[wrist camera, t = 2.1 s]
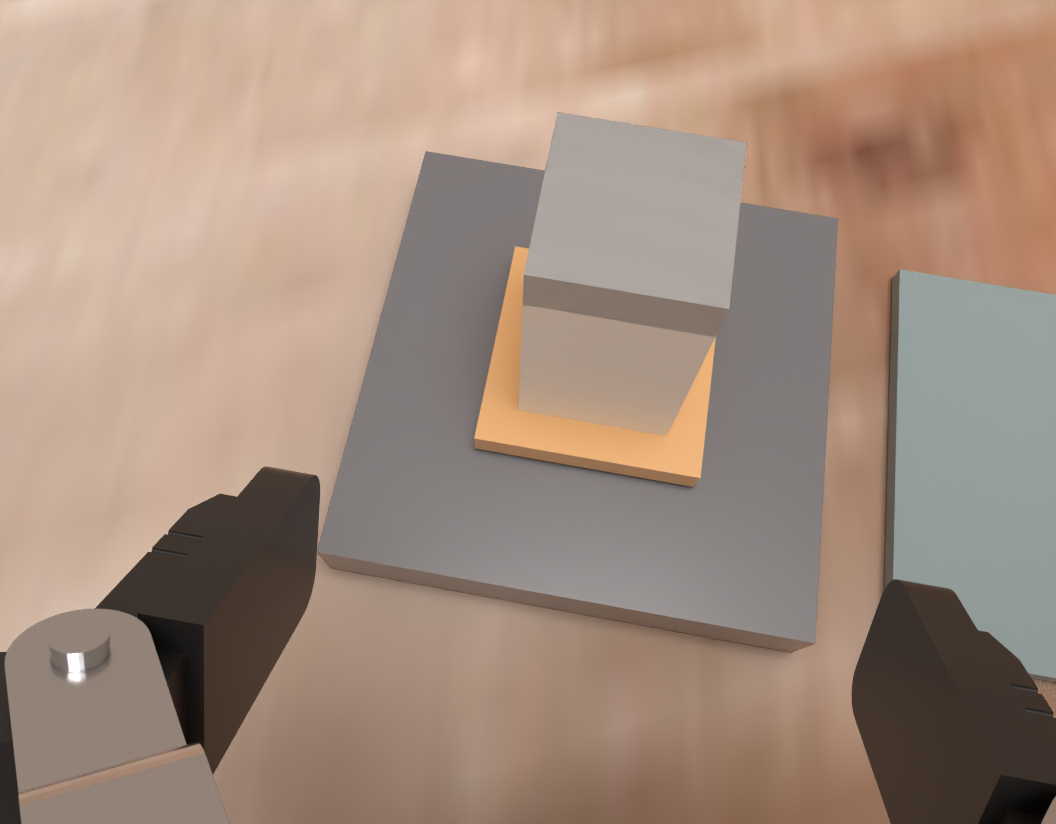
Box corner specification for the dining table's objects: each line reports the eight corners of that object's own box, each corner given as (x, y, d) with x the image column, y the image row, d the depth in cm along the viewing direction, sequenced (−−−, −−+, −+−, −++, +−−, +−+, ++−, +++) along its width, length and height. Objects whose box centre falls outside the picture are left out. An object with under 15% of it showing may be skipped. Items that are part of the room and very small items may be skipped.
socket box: (816, 253, 29) (838, 218, 27) (791, 652, 24) (815, 643, 22) (430, 190, 30) (425, 151, 28) (330, 568, 25) (316, 552, 23)
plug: (700, 329, 28) (797, 112, 19) (679, 509, 26) (778, 364, 16) (513, 297, 28) (518, 68, 19) (477, 473, 26) (462, 310, 17)
